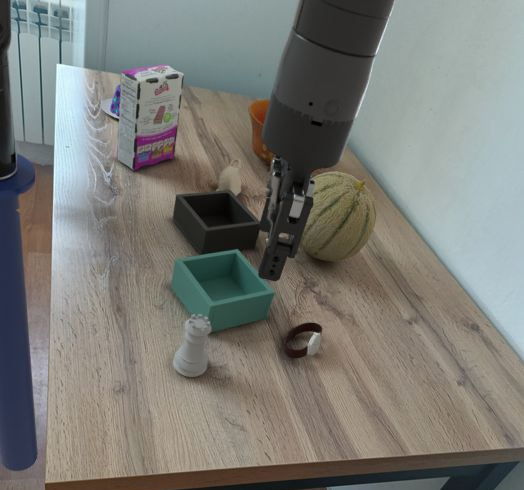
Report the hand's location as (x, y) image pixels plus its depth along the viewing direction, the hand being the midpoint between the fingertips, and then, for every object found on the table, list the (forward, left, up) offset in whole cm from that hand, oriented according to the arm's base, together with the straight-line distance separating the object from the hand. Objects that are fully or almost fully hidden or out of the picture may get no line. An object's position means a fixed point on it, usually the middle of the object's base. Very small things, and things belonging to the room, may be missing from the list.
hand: (267, 253), depth 56 cm
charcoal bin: (+14, +30, -20) cm, 38 cm away
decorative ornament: (+24, +42, -20) cm, 52 cm away
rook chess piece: (-4, +4, -20) cm, 21 cm away
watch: (+13, +2, -20) cm, 24 cm away
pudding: (+18, +76, -20) cm, 80 cm away
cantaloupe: (+31, +21, -20) cm, 42 cm away
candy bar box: (+13, +56, -20) cm, 61 cm away
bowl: (+44, +51, -20) cm, 70 cm away
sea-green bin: (+6, +14, -20) cm, 25 cm away
